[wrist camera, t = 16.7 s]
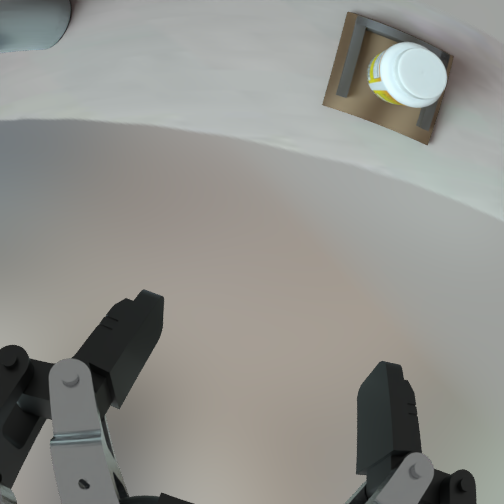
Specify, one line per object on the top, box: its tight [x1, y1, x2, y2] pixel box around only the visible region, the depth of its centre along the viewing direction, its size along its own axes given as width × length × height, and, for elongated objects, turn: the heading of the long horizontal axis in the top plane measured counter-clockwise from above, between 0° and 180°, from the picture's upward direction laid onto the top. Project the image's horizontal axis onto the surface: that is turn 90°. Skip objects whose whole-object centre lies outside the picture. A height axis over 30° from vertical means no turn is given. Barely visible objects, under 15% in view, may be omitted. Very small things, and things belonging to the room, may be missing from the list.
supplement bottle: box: [367, 42, 447, 108], centre depth 20 cm, size 6×6×10 cm
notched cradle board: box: [322, 12, 454, 145], centre depth 25 cm, size 12×11×2 cm
